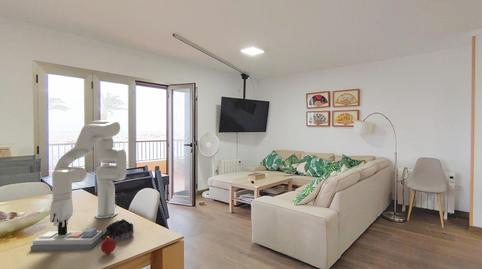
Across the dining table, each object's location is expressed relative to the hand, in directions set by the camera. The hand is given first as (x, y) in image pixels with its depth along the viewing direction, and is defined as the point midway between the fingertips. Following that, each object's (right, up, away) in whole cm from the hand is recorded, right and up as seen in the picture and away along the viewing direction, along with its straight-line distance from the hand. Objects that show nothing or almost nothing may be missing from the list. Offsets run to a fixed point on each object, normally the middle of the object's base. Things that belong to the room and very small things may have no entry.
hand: (62, 234), depth 120 cm
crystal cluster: (+23, -5, +8) cm, 25 cm away
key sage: (0, -3, 0) cm, 3 cm away
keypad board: (+3, -5, +1) cm, 6 cm away
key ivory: (-6, -3, 0) cm, 7 cm away
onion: (+27, -5, -9) cm, 29 cm away
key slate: (+12, -1, +1) cm, 12 cm away
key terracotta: (+6, -3, +1) cm, 7 cm away
